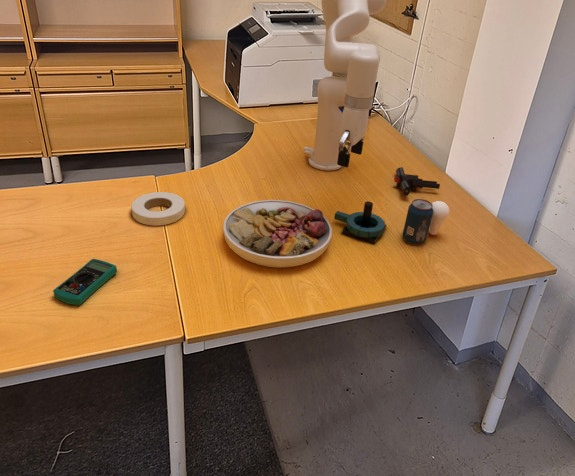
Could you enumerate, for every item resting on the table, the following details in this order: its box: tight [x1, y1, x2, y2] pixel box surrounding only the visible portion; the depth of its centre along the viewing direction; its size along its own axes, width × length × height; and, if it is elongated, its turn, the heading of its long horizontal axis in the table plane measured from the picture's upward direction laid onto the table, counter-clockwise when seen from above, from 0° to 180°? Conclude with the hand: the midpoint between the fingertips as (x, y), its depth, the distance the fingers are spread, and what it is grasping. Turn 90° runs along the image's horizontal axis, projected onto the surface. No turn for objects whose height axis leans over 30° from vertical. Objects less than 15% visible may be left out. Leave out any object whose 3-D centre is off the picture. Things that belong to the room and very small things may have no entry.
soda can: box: [402, 198, 433, 246], centre depth 148 cm, size 7×7×12 cm
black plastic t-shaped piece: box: [393, 166, 441, 197], centre depth 177 cm, size 5×20×15 cm
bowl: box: [222, 199, 333, 268], centre depth 144 cm, size 30×30×8 cm
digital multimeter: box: [52, 258, 118, 306], centre depth 124 cm, size 7×15×3 cm, turn 159°
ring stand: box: [341, 200, 387, 245], centre depth 151 cm, size 10×10×10 cm
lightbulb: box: [428, 200, 450, 236], centre depth 151 cm, size 6×6×11 cm
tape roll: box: [131, 191, 186, 227], centre depth 154 cm, size 16×15×3 cm
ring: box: [333, 210, 386, 238], centre depth 152 cm, size 15×11×2 cm
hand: (349, 159), depth 146 cm, fingers open, 9 cm apart
